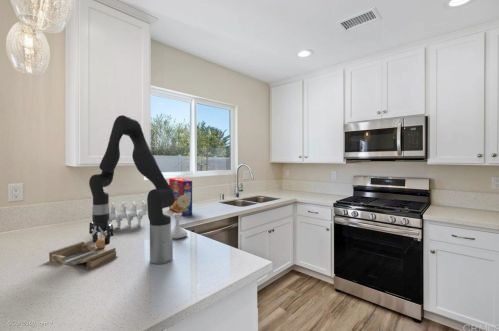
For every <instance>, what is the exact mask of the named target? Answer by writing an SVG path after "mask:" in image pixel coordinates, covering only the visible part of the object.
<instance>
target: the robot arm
mask: <svg viewBox="0 0 499 331" xmlns="http://www.w3.org/2000/svg"><path fill="white" fill-rule="evenodd" d="M123 135H124V136H128V137H129V138H130V140H131V142H132V144H133V150H132V160H133V164H134V165H135V167H136V169H137V171H138V172H139V173H140V175H142V176H143V177H145V178H146V179H147V180H149V181H150V182H151V183H152V184H153V186H154V189H151V190H149V192H148V193H147V198H146V206H147V217H148V221H149V263H151V264H153V265H155V264H156V265H160V264H162V265H163V264H167V263H168V262H170V261H171V260H173V257H174V256H173V255H174V253H173V252H174V251H173V250H174V249H173V248H174V246H173V244H174V242H173V239H174V238H171V230H172V229H171V228H172V218H171V216H170V215H168V214H164V211H163V210H164V209H166V208H169V207H170V206H172V205H173V204H174V202H175V196H174V193H173V191H172V189H171V187H170V186H169V183H168V181H167V180H166V178H165V176H164V174H163V172H162V170H161V169H160V167H159V165H158V163H157V161H156V158H155V156H154V154H153V152H152V150H151V148H150V146H149V144H148V142H147V140H146V137H145V134H144V132H143V128H142V126H141V123H140V121H138V119H135V118H132V117H130V116H127V115H118V116H116V118H115V120H114V121H113V125H112V128H111V132H110V135H109V139H108V144H107V148H106V150H105V153H104V155H103V156H102V159H101V161H100V163H99V166H98V167H99V169H100V170H101V173H98V174H92V176H90V179H89V180H88V181H89V182H88V184H89V188H90V189H89V190H90V194H92V208H91V210H92V211H91V212H92V214H91V215H92V221H90V222H89V227H88V229H89V232H88V233H89V234H90V235H92V243H94V244H96V241H97V240H98V235H97V234H98V232H100V233H102V234H103V235H104V237H105V245H106V246H108V245H110V243H111V237H113V236H114V226H113V224H111V223H110V225H108V221H109V214H110V200H109V197H110V196H109V193H108V192H106V191H105V190H104V188H106V187H109V186H110V185H111V184H112V182H113V180H114V175H115V170H116V167H117V165H118V163H119V161H120V157H121V151H120V149H121V148H120V142H121V139H122V137H123ZM105 231H106V232H105ZM106 233H107V235H106Z"/></svg>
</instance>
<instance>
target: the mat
mask: <svg viewBox="0 0 499 331" xmlns="http://www.w3.org/2000/svg"><path fill="white" fill-rule="evenodd" d="M96 253H99V252H97V251H96V250H95V251H93V252H92V251H90V252H86V251H80V252H77V253H74V254H71V255H69V256H66V262H64V263H63V264H62V265H63V266H67V267H72V268H75V269H79V270H83V271H88V272H89V271H91V270H94V269H95V268H93V269H89V268H87V262H83V263H79V264H76V265H73V264H71V263H73V262H76V261H78V260H81V259H83V258H86V257H88V256H91V255H93V254H96ZM118 258H119V256H117V255H116V259H118ZM113 260H115V259H113ZM113 260H112V261H113ZM105 264H106V263H104V264H102V265H105ZM102 265H101V266H102Z"/></svg>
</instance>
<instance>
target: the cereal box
mask: <svg viewBox="0 0 499 331" xmlns="http://www.w3.org/2000/svg"><path fill="white" fill-rule="evenodd" d="M168 179H169V180H168V182H169V183H168V184H169V186H170V187H171V189H172V191H173V193H174V196H175V202H174V204H173V205H172V206H170V207H168V208H169V209H168V210H169V211H170V212H173V213H174V214H175V213H181V214H182V215H181V216H182V217H187V216H192V215H193V180H190V179H184V178H179V177H175V178H173V177H172V178H171V177H170V178H168ZM182 195H185V196H187V197H188V198H189V200H190V205H189V206H188V207H187V206H186V208H187V209H188V211H185V212H184V211H182V209H181V208H183V207H179V205H178V204H177V200H178V197H180V196H182ZM174 209H175V210H178V211H180V210H181V211H180V212H178V211H175V210H174ZM181 216H180V217H181Z"/></svg>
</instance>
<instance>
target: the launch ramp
mask: <svg viewBox="0 0 499 331" xmlns="http://www.w3.org/2000/svg"><path fill="white" fill-rule="evenodd" d="M116 250H117V249H116V248H114V247H113V248H110V249H107V250H103V251H100V252H98V253H96V254H93V255H91V256H88V257H86V258H83V259H81V260H78V261H76V262H73V263H71V264H73V265H76V264H79V263H83V262H87V268H89V269H91V270H94V269H96V268H99V267H100V266H102V264H103V265H105V264H107V263H109V262H111V261H113V259H114V260H116V259H117V258H116V256H117V251H116ZM104 263H105V264H104ZM93 268H94V269H93Z"/></svg>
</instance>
